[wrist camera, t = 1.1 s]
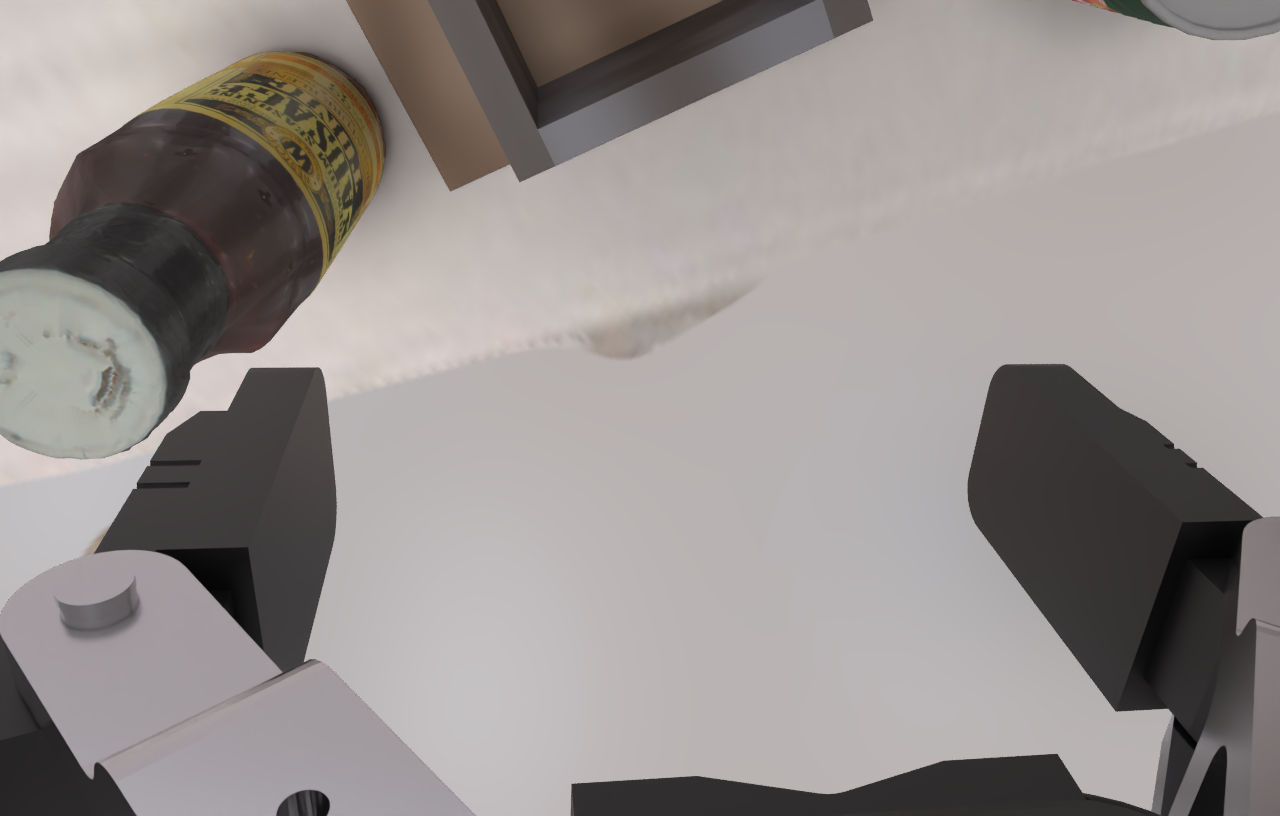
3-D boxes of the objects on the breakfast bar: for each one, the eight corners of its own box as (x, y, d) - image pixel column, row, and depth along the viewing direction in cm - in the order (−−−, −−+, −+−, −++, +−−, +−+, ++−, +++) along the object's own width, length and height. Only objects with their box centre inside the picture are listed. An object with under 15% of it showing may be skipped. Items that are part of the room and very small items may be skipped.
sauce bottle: (426, 155, 37) (328, 426, 20) (296, 248, 38) (96, 581, 21) (301, -4, 34) (57, 150, 17) (165, 103, 35) (-195, 350, 18)
